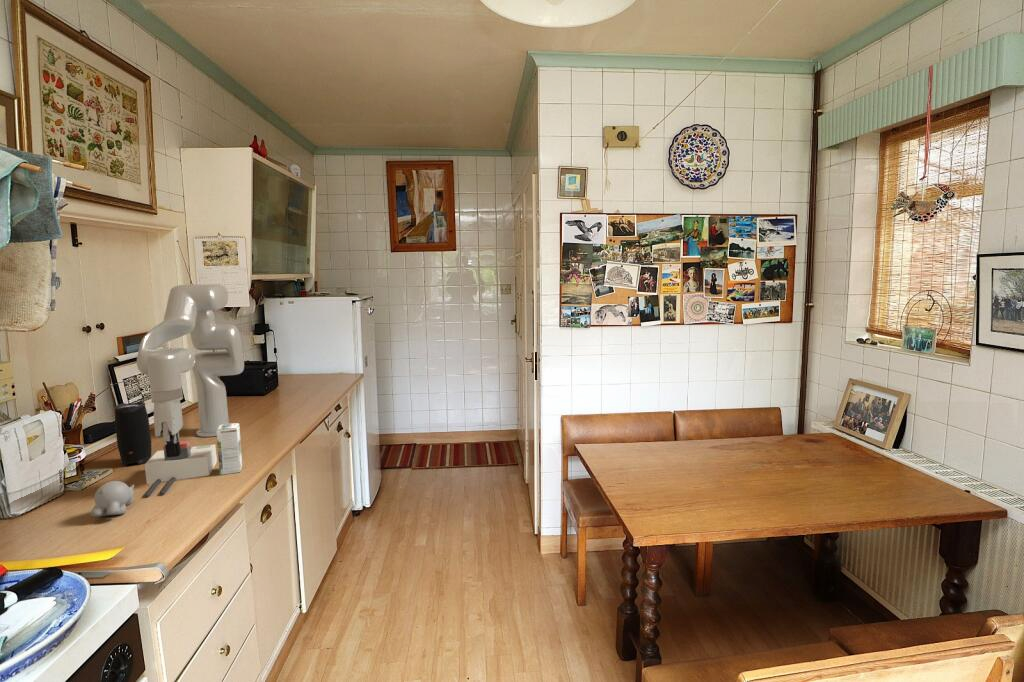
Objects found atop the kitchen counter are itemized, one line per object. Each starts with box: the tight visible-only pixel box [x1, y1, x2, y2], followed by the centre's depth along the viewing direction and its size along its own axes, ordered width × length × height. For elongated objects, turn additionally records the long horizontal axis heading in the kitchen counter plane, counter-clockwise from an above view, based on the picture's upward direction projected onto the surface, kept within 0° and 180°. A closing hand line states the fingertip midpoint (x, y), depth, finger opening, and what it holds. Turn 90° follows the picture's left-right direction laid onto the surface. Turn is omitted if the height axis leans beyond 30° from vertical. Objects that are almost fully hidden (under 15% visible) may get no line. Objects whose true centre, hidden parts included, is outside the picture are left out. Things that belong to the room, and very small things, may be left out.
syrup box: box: [216, 422, 243, 476], centre depth 155 cm, size 6×6×14 cm
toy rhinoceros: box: [90, 480, 135, 517], centre depth 130 cm, size 7×12×8 cm, turn 6°
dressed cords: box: [144, 477, 176, 498], centre depth 143 cm, size 11×5×1 cm, turn 20°
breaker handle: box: [162, 440, 191, 460], centre depth 150 cm, size 3×6×4 cm, turn 110°
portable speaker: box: [114, 401, 152, 467], centre depth 163 cm, size 9×9×20 cm
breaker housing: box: [144, 443, 218, 485], centre depth 155 cm, size 12×16×6 cm
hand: (173, 455), depth 147 cm, fingers closed
